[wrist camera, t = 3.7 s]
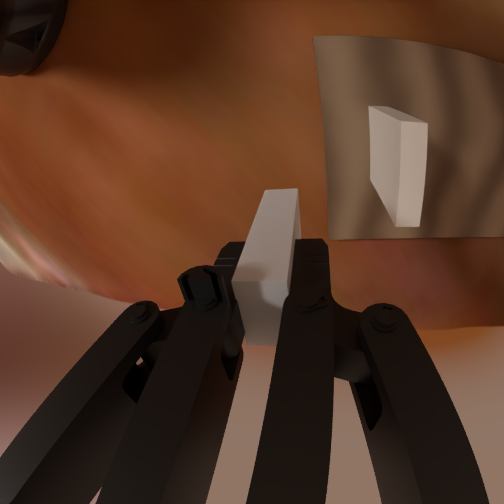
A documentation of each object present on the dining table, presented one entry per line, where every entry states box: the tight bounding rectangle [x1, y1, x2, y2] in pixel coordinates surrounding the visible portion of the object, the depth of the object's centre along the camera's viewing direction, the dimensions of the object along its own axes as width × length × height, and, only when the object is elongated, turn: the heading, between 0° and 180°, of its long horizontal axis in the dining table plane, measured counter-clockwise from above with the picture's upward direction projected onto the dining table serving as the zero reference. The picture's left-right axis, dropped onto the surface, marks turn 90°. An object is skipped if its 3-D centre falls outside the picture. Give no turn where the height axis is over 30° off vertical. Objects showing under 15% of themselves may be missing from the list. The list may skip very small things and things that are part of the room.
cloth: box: [313, 36, 504, 240], centre depth 21 cm, size 24×20×1 cm
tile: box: [368, 106, 428, 227], centre depth 19 cm, size 2×7×9 cm, turn 8°
